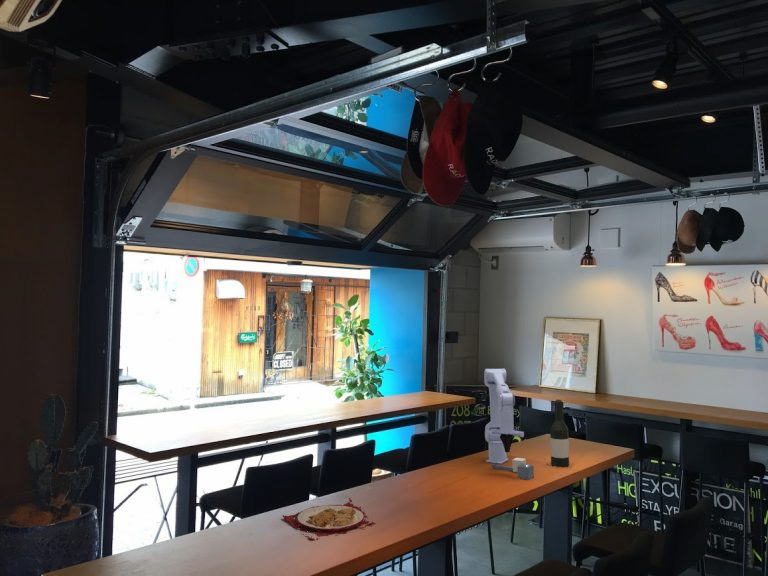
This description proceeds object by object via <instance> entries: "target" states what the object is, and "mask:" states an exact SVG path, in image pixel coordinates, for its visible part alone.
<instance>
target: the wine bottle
mask: <svg viewBox="0 0 768 576" xmlns="http://www.w3.org/2000/svg"><path fill="white" fill-rule="evenodd" d="M554 414H555V416H554V417H555V419H554V422H553V423H552V425H551V427H550V429H549V431H550V433H549V435H550V466H553V467H555V466H556V467H555V468H567V467H569V466H570V443H569V427H568V426H567V424H566V423H565V421H564V418H563V417H564V414H563V401H562V399H559V398H558V399H555V402H554Z"/></svg>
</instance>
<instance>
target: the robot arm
mask: <svg viewBox="0 0 768 576" xmlns="http://www.w3.org/2000/svg"><path fill="white" fill-rule="evenodd" d="M483 376H484V379H483V380H484V381H483V382H484V386H486V387H488V390H489V392H488V393H489V409H490V410H489V412H490V421H489V422H488V423H487V424H486V425H485V427H484V428H485V429H484V438H485V441H486V442H487V443H488V459H486V460H485V462H486V463H492V464H494V463H496V464H499V465H501V464H504V463H505V462H507V461H509V458H508V457H507V454H508V453H510V452H511V446H512V443H513V441H514V439H515V437H520V438H524V436H525V431H520V430H514V424H515V423H514V406H515V403H516V398H515V394H514V392H512V391H511V390H510V388H509V386H508V384H507V383H506V380H507V370H506V368H504V367H503V368H485V369H484V372H483Z"/></svg>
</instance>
